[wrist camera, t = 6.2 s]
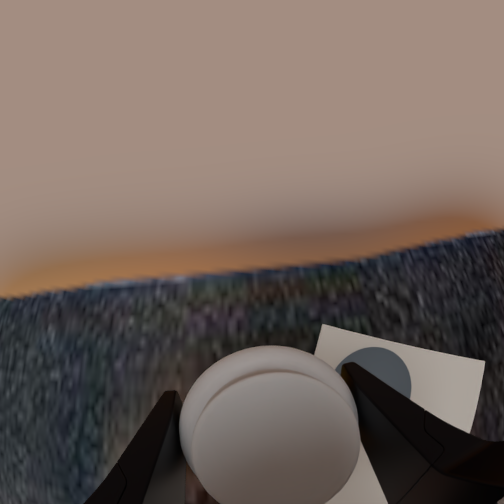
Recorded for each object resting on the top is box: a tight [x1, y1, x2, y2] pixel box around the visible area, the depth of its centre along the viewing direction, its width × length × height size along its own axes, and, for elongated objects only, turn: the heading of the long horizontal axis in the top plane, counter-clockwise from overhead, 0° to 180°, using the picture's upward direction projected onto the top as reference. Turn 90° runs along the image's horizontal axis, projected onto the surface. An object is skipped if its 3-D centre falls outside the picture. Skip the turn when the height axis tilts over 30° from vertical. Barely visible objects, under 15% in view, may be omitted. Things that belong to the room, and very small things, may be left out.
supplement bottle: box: [179, 346, 360, 504], centre depth 10 cm, size 6×6×10 cm
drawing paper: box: [314, 324, 485, 504], centre depth 19 cm, size 18×17×1 cm
